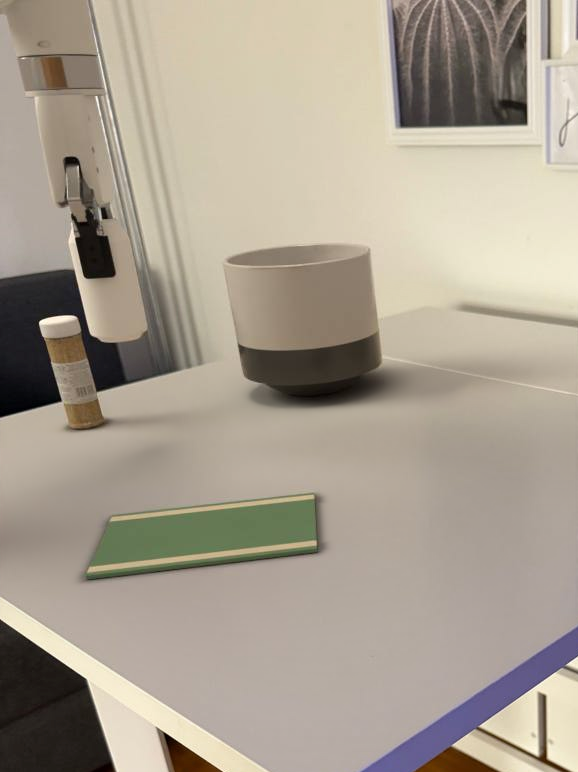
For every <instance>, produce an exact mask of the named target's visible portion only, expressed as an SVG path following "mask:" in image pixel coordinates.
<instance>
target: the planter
mask: <svg viewBox="0 0 578 772" xmlns="http://www.w3.org/2000/svg"><path fill="white" fill-rule="evenodd" d="M222 266H223V273H224V278H225V283H226V288H227V294H228V299H229V304H230V310H231V317H232V322H233V326H234V327H233V328H234V332H235V338H236V343H237V349H238V354H239V360H240V365H241V372H242V375H243V377H244V378H245V379H247V380H249V381H251V382H253V383H258V384H262V385H263V384H264V385H266V386H267V387H269V388H271V389H273V390H275V391H277V392H281V393H284V394H288V395H292V396H297V397H317V396H324V395H328V394H329V395H330V394H334V393H337V392H339V391H342V390H344V389H345V388H346V389H347V388H348V387H349V386H351V385H353V384H355V383H356V382H357V381H358V380H360V379H361V378H362V377H363V376H364V375H365V374H367V373H370V372H372V371H374V370H376V369H377V368H379V367H380V366H381V365H382V362H383V355H382V354H383V353H382V345H381V335H380V326H379V317H378V306H377V298H376V296H377V295H376V287H375V278H374V269H373V258H372V251H371V248H369V246H366V245H364V244H363V245H362V244H357V243H349V242H348V243H347V242H319V243H318V242H316V243H315V242H314V243H298V244H287V245H279V246H269V247H264V248H256V249H251V250H246V251H242V252H238V253H235V254H232V255H229V256H227V257H225V258H224V259H223V260H222Z"/></svg>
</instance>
